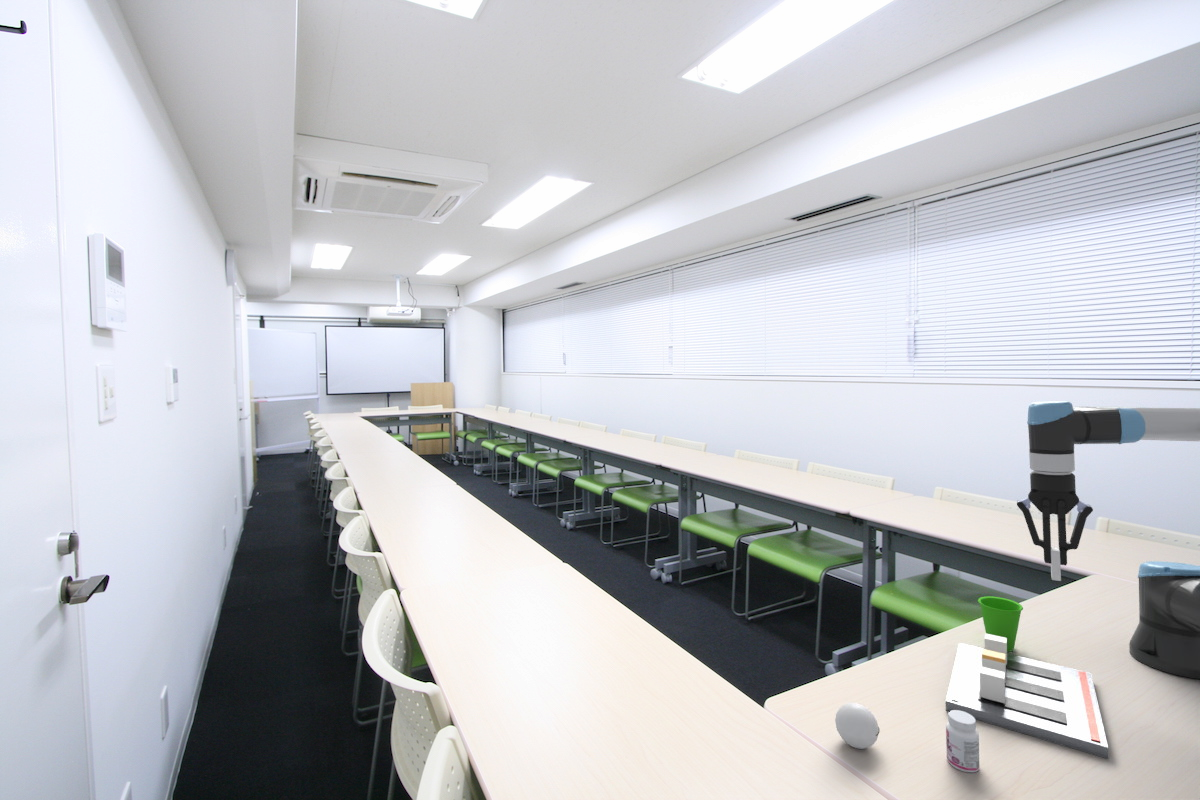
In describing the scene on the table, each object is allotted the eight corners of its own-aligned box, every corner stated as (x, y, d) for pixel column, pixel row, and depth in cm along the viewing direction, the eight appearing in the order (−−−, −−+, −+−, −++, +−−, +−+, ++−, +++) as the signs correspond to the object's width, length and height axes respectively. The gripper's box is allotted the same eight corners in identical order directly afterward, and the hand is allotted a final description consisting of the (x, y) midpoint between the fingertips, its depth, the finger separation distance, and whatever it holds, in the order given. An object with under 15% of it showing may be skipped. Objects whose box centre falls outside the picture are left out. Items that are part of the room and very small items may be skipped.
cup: (1032, 657, 127) (1031, 611, 127) (989, 654, 129) (989, 609, 129) (1011, 639, 136) (1010, 597, 136) (971, 637, 138) (970, 595, 138)
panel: (1090, 681, 116) (1090, 671, 116) (1108, 758, 93) (1108, 746, 93) (959, 650, 131) (959, 641, 131) (945, 710, 108) (945, 699, 108)
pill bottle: (940, 755, 95) (939, 709, 95) (965, 753, 95) (964, 707, 95) (960, 774, 90) (959, 726, 90) (986, 772, 91) (985, 723, 90)
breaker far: (1007, 659, 122) (1006, 637, 122) (1006, 664, 119) (1006, 643, 119) (985, 654, 124) (985, 633, 124) (984, 659, 122) (984, 638, 122)
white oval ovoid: (878, 763, 93) (877, 722, 93) (832, 749, 97) (831, 710, 97) (882, 731, 102) (881, 694, 102) (840, 720, 106) (839, 683, 106)
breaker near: (1005, 696, 108) (1004, 672, 108) (1004, 703, 105) (1004, 678, 105) (981, 689, 110) (980, 666, 110) (980, 696, 108) (979, 672, 108)
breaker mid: (1005, 676, 115) (1005, 653, 115) (1005, 682, 112) (1005, 659, 112) (983, 671, 117) (982, 648, 117) (982, 677, 115) (982, 654, 115)
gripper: (1090, 470, 115) (1094, 578, 115) (1014, 467, 123) (1018, 568, 123) (1094, 476, 109) (1098, 589, 109) (1014, 472, 117) (1018, 578, 117)
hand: (1056, 578), depth 116 cm, fingers closed
